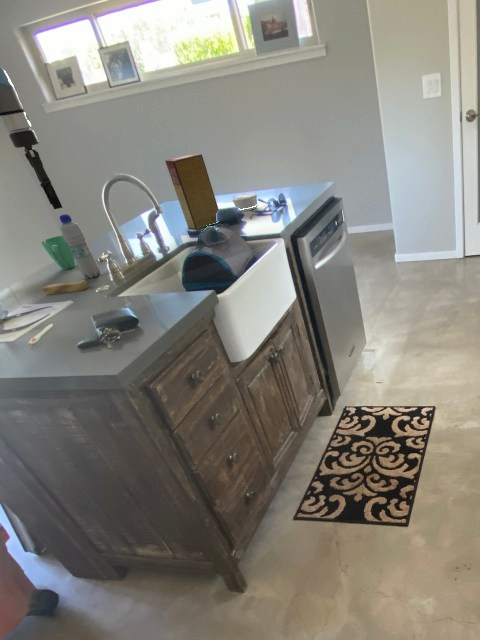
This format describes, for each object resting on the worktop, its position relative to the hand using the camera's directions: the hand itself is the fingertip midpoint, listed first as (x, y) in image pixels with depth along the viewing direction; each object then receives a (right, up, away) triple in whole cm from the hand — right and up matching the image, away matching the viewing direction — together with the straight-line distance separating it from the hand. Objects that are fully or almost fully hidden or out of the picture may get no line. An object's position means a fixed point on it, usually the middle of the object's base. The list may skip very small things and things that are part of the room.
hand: (56, 206), depth 179 cm
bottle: (+9, -22, +7) cm, 24 cm away
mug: (-8, -13, +19) cm, 25 cm away
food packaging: (+35, +20, +47) cm, 62 cm away
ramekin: (+51, +34, +61) cm, 86 cm away
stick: (+6, -31, -3) cm, 32 cm away
